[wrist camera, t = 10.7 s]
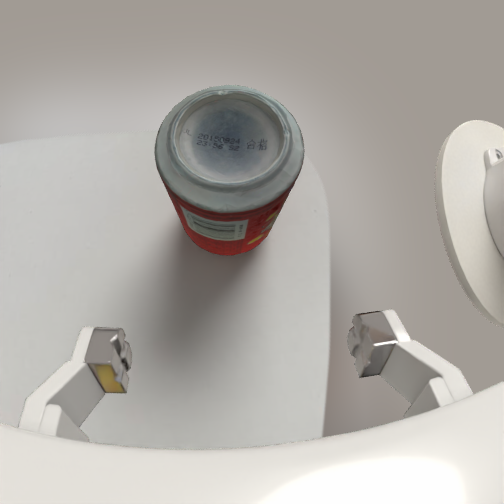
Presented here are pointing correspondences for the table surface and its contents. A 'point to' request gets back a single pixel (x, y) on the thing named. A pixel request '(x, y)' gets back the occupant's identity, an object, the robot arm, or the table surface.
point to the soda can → (229, 165)
